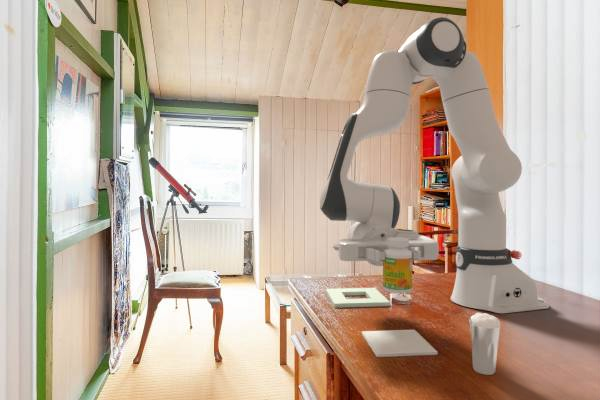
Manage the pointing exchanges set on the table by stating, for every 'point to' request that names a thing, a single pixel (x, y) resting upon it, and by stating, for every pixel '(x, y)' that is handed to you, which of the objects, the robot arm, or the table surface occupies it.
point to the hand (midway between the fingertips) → (399, 256)
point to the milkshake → (484, 342)
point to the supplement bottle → (397, 266)
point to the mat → (398, 343)
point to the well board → (372, 299)
